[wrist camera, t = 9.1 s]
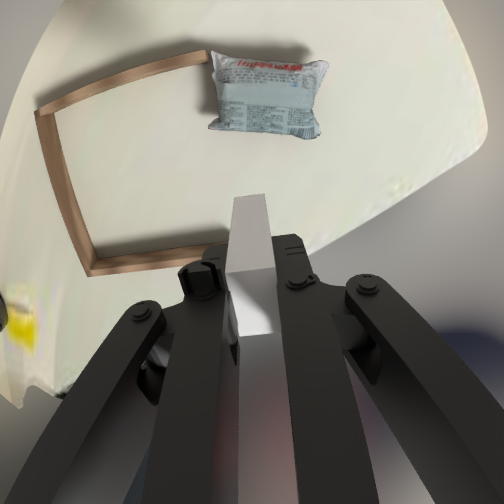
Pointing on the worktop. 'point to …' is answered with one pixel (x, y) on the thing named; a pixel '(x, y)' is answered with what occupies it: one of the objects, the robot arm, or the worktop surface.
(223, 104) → the packaged food
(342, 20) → the worktop surface
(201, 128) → the worktop surface
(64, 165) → the wooden frame
